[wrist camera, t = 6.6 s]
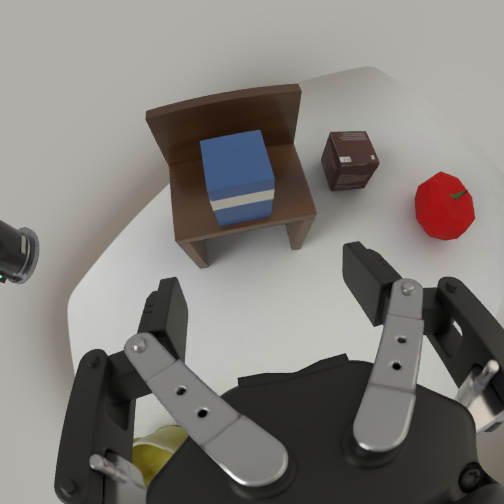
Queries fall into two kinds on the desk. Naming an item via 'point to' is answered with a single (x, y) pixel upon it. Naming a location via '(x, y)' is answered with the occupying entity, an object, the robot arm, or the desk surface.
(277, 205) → the chair
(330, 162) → the box
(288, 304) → the desk surface
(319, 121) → the desk surface
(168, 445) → the mug
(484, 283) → the desk surface
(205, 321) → the desk surface
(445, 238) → the apple
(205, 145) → the carton
